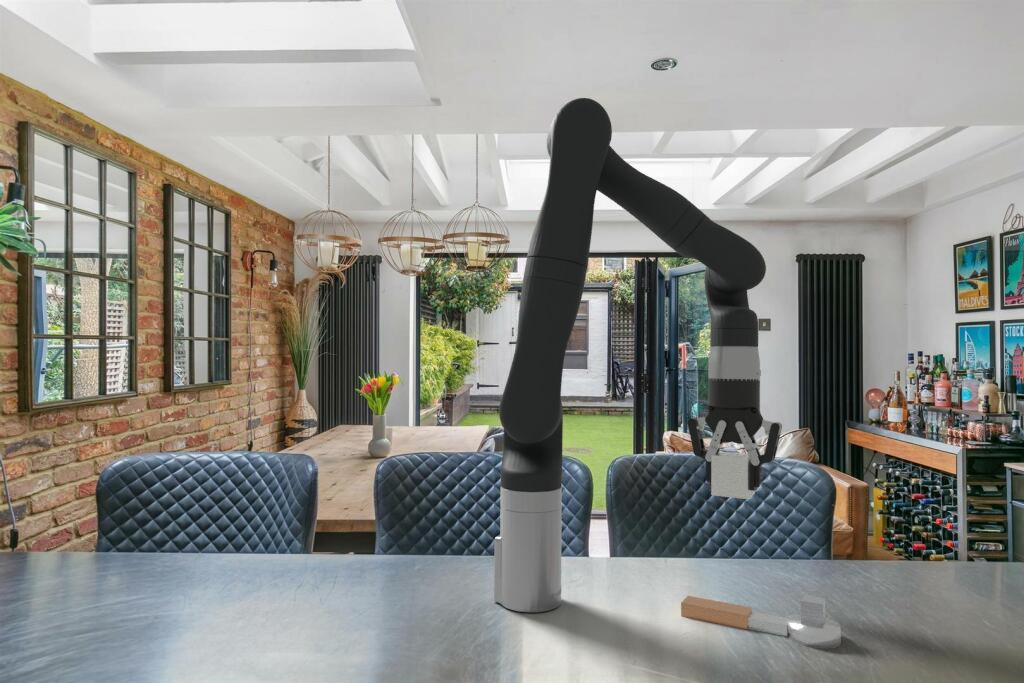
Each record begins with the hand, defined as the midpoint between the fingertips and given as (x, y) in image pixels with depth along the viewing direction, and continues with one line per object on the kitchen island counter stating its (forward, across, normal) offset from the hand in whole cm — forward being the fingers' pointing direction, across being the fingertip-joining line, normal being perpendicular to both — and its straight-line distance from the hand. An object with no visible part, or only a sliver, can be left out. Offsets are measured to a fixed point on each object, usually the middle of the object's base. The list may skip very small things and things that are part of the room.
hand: (733, 487), depth 101 cm
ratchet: (+17, +5, -9) cm, 20 cm away
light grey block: (+1, 0, 0) cm, 1 cm away
